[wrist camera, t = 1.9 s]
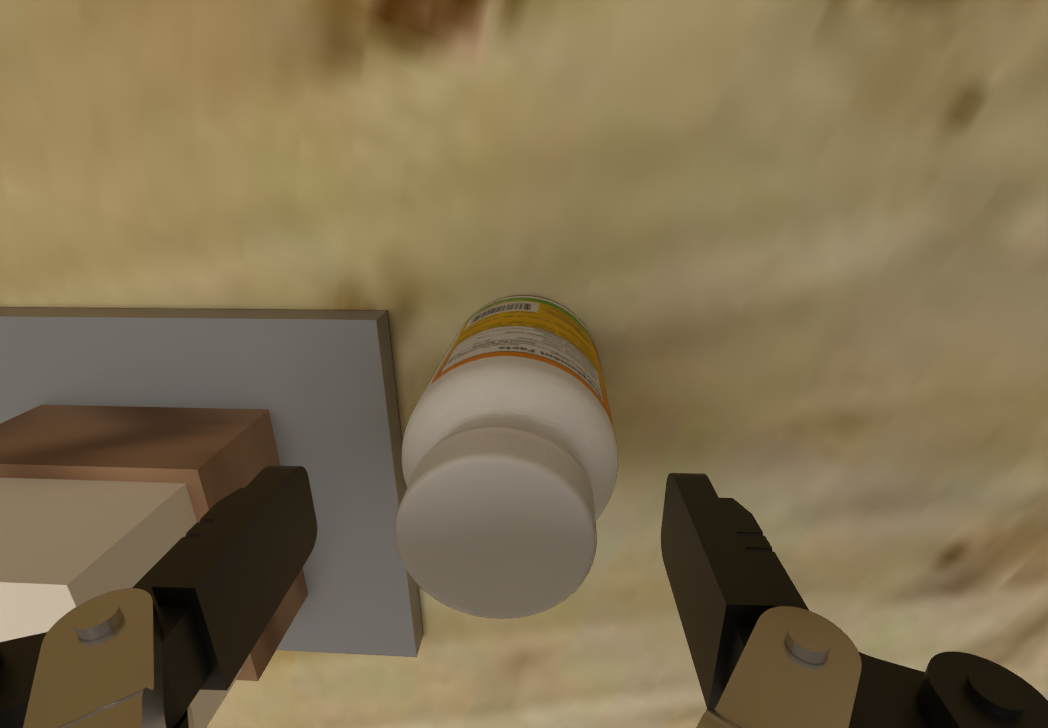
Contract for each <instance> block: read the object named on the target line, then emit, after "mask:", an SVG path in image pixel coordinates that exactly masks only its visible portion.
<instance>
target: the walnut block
mask: <svg viewBox="0 0 1048 728" xmlns="http://www.w3.org/2000/svg"><path fill="white" fill-rule="evenodd" d="M266 466H281V465H280V461H279V456H278V451H277V447H276V442H275V437H274V433H273V428H272V424H271V419H270V414H269V410H268V409H224V408H176V407H128V406H81V405H39V406H37V407H35V408H33V409H31V410H29V411H27V412H24V413H22V414H20V415H18V416H16V417H14V418H11V419H9V420H7V421H5V422H3V423H1V424H0V478H30V479H63V480H96V481H128V482H161V483H186V486H187V490H188V493H189V496H190V500H191V503H192V506H193V510H194V513H195V516H196V520H197V523H199V522H200V519H201V518H202V517H203V516H204V515H205V514H206V513H207V512H208V511H209V509H210V508H211V507H212V506H213V505H214V504H215V503H216V502H218V501H219V500H221V499H223V498H224V497H226V496H228V495H229V494H231V493H233V492H234V491H236V490H238V489H239V488H245V487H246V486H247V485H248V484H249V483H250V482H251V481H252V480H253V479H254V478H255V477H256V475H257V474H258V473H259V472H260V471H261V470H262V469H263V468H264V467H266ZM307 596H308V590H307V586H306V581H305V576H304V572H303V567H302V569H301V571H300V572H299V574H298V576H297V577H296V579H295V581H294V582H293V584H292V585H291V587H290V589H289V590H288V592H287V594H286V595H285V597H284V598H283V600H282V602H281V603H280V605H279V607H278V608H277V610H276V612H275V613H274V615H273V616H272V618H271V620H270V621H269V623H268V625H267V626H266V628H265V629H264V631H263V633H262V634H261V636H260V638H259V639H258V641H257V643H256V644H255V646H254V647H253V649H252V651H251V652H250V654H249V656H248V657H247V659H246V660H245V662H244V664H243V665H242V667H241V669H242V671H241V673H240V674H239V676H238V677H237V679H236V680H249V681H258V680H259V678H260V677H261V675H262V673H263V672H264V670H265V668H266V666H267V665H268V663H269V661H270V659H271V658H272V656H273V654H274V653H275V651H276V649H277V647H278V646H279V644H280V642H281V641H282V639H283V637H284V635H285V634H286V632H287V630H288V629H289V627H290V625H291V623H292V622H293V620H294V618H295V616H296V615H297V613H298V611H299V610H300V608H301V606H302V604H303V603H304V601H305V599H306V598H307Z"/></svg>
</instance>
